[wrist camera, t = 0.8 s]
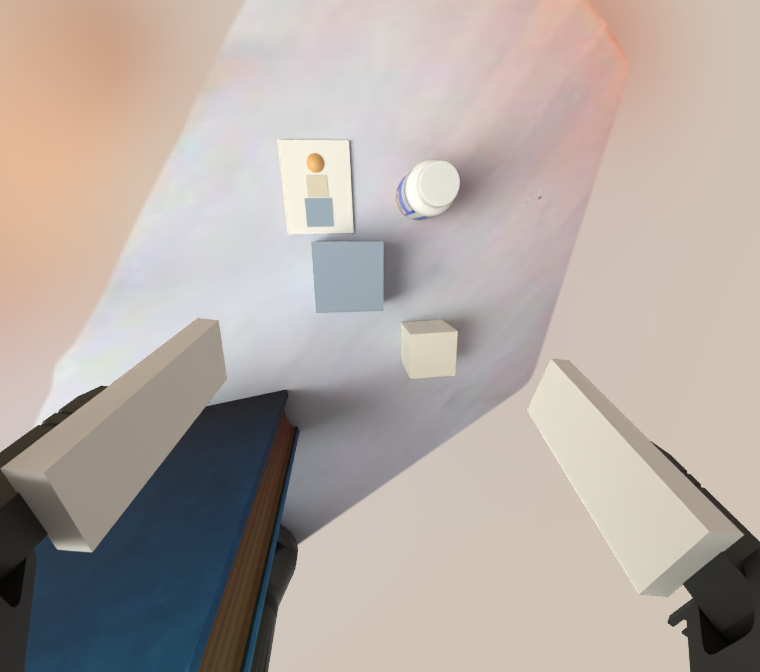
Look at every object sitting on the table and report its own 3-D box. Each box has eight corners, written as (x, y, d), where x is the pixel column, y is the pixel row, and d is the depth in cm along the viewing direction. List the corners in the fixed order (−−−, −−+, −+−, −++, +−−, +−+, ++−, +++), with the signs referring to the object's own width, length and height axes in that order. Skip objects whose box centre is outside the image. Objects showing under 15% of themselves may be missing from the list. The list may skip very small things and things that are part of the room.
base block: (378, 302, 41) (383, 310, 36) (318, 304, 40) (316, 312, 35) (378, 241, 39) (383, 241, 34) (314, 241, 38) (311, 241, 33)
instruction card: (353, 232, 38) (353, 232, 37) (288, 234, 37) (287, 234, 36) (348, 141, 35) (348, 140, 34) (277, 140, 34) (276, 139, 33)
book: (138, 476, 44) (-231, 912, 15) (111, 426, 41) (-403, 847, 13) (301, 439, 46) (242, 770, 17) (286, 389, 43) (184, 684, 14)
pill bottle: (443, 183, 37) (477, 165, 28) (427, 227, 39) (454, 222, 29) (403, 165, 36) (426, 140, 27) (388, 210, 37) (404, 201, 28)
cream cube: (440, 358, 45) (455, 375, 39) (401, 361, 44) (410, 379, 38) (442, 319, 43) (457, 331, 37) (400, 321, 42) (410, 334, 36)
